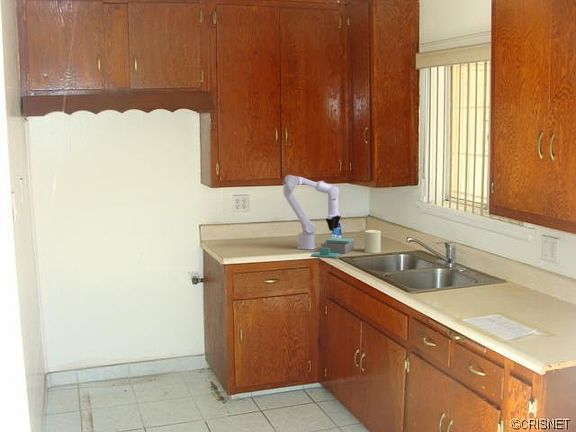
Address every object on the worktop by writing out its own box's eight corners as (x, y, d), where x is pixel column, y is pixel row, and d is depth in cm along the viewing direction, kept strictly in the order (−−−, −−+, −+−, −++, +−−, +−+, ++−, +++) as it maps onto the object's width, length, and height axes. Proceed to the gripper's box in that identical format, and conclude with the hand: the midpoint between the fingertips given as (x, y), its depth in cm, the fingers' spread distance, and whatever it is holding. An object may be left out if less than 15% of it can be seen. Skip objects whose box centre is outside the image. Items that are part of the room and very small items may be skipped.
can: (379, 253, 384) (379, 232, 382) (362, 252, 387) (362, 231, 385) (382, 250, 393) (382, 229, 391) (366, 249, 396) (366, 228, 394)
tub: (321, 252, 388) (321, 242, 387) (330, 247, 403) (330, 237, 402) (345, 254, 383) (345, 243, 382) (353, 249, 397) (353, 239, 396)
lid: (311, 257, 376) (311, 248, 376) (316, 254, 384) (316, 245, 383) (335, 259, 371) (335, 249, 371) (340, 256, 378) (340, 247, 378)
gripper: (335, 208, 392) (336, 231, 394) (343, 204, 405) (343, 227, 407) (323, 207, 394) (324, 231, 396) (332, 204, 408) (332, 227, 410)
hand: (333, 229), depth 402 cm, fingers open, 7 cm apart
